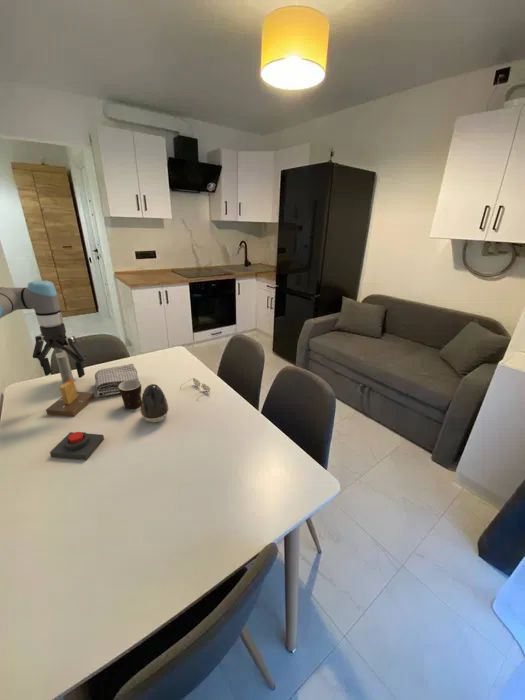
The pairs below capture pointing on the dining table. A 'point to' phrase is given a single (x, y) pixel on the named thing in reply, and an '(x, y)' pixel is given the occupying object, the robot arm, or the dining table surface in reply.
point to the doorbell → (77, 447)
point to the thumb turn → (68, 392)
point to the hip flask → (63, 364)
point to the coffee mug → (131, 393)
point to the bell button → (76, 437)
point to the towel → (113, 379)
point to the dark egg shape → (154, 404)
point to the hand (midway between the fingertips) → (65, 375)
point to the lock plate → (70, 405)
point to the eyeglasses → (199, 385)
